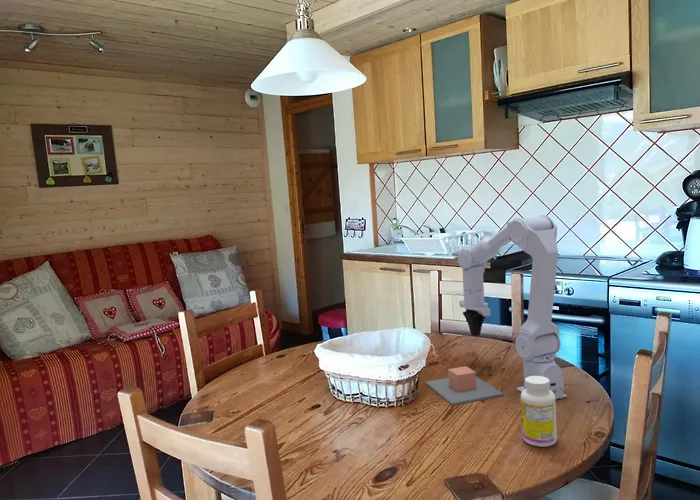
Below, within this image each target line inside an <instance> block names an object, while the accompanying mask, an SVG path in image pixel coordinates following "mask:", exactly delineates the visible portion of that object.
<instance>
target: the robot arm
mask: <svg viewBox="0 0 700 500" xmlns="http://www.w3.org/2000/svg"><path fill="white" fill-rule="evenodd" d="M557 236H558V226H557V225H556V223H555V222H554V220H553V219H552V218H551V216H548V215H539V216H533V217H532V216H531V217H522V218H521V217H517V218H514V219H512V220H511V221H508V222H507V224H506V226H504V227H503V228H502V229H501V230H500V231H498V232H496V234H494V235H493V236H487V235H485V236H483V235H482V236H481V237H479V239H480V240H479V241H477V242H476V243H472V244H471V245H470V247H469V248H461V249H460V250H459V251H458V254H457V263H458V265H459V267H460V268H461V270H462V284H463V285H462V289H463V299H462V300H459V307H460V308H464V309H465V310H466V311H462V315H463V317H464V319H465V320H466V323H467V325H468V328H469V332H470V335H471V336H472V337H480V336H481V332H482V328H483V324H484V321H485V319H486V317H490V316H491V315H492V314H491V308H489V307H488V306H489V303H488V302H485V289H484V286H485V285H484V284H485V283H484V273H485V272H486V270H485V269H486V268H485V267H486V265H487V263H488V261H490V260H491V259H492V258H494V257H496V256H498V254H499V253H500V252H501V251H500V250H501V248H502V247H504V246H506V245H508V244H510V243H511V242H513V243H514V244H515V245H517V247H519V249H521V250H522V251H523V252H524V253H526V254H528V255H529V256H530V257H531V258H532V264H531V276H530V287H529V297H528V298H529V300H528V309H527V310H528V312H527V319H526V321H525V322H524V323H523V324H522V325H521V326H520V327H519V330H518V335H517V336H516V338H515V349H516V353H517V354H518V356H519V357H520V359H521V360H522V363H523V386H518V387H516V389H517V391H519V392H521V393H522V391H523V390H525V389H526V385H525V378H526V377H529V376H543V377H546V378H548V379H549V381H550V386H549V390H550V391H552V392H553V393H554V395H555V400H558V399H559V398H560V399H564V397H565V398H567V397H568V395H567V394H565V390H564V389H565V386H564V372H563V370H562V368H561V367H560V366H559V365H558V364H557V363H556V361H555V358H557V353H558V352H559V351H560V350H561V346H562V343H561V339H560V334H559V332H560V328H559V326H557V324H555V323H554V322H553V321H552V317H553V308H554V298H555V297H554V296H555V290H556V289H555V288H556V277H557V269H558V268H557V267H558V257H559V249H558V245H557V244H558V243H557Z"/></svg>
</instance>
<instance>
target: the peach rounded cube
mask: <svg viewBox="0 0 700 500" xmlns="http://www.w3.org/2000/svg"><path fill="white" fill-rule="evenodd" d="M447 373H448V378H449V386H450V387H452V388H453V389H454V390H456V391H457V392H464V391H469V390H475V389H477V387H476V377H477V372H476V371H474V370H473V369H471V368H470V367H468V366H466V365H465V366H460V367H459V366H458V367H455V368H448V371H447Z"/></svg>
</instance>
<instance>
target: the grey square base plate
mask: <svg viewBox="0 0 700 500" xmlns="http://www.w3.org/2000/svg"><path fill="white" fill-rule="evenodd" d="M425 385H426V386H427V387H429V388H430V389H431V390H432V391H433V392H435V393H436V394H438V395H439V396H440V397H441V399H442V398H443V399H444V400H445V401H446V402H447V403H449V404H450V405H451V406H457V405H461V404H468V403H472V402H477V401H483V400H484V401H485V400H489V399H494V398H500V397H504V393H503V392H501V391H500V390H499V389H497V388H496V387H494V386H492V385H491V384H489V383H487V382H485V381H484V380H482V379H481V378H479V377H478V376H476V387H477V389H475V390H469V391H464V392H457V391H456V390H454V389H453V388H452V387H450V386H449V377H445V378H439V379H435V380H428V381H427V380H426V381H425Z"/></svg>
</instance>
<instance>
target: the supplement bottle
mask: <svg viewBox="0 0 700 500" xmlns="http://www.w3.org/2000/svg"><path fill="white" fill-rule="evenodd" d="M525 385H526V389H525V390H523V391H522V392H521V393H520V408H521V409H520V412H521V414H520V415H521V433H522V435H521V436H522V438H523V441H524V442H526V443H527V444H529V445H531V446H533V447H534V446H535V447H540V448H541V447H542V448H543V447H544V448H546V447H551V446H552V445H555V444H556V442H557V439H558V435H557V434H558V430H557V407H556V406H557V405H556V401H557V399H555V395H554V393H553V392H552V391H550V390H549V386H550V381H549V379H548V378H546V377H543V376H529V377H526V378H525Z"/></svg>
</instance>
